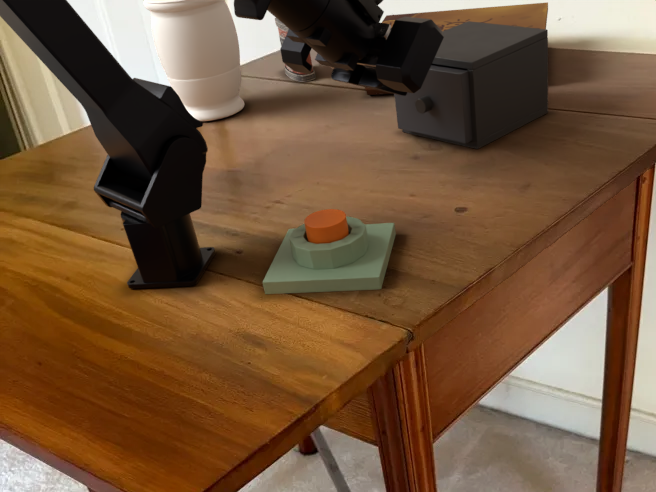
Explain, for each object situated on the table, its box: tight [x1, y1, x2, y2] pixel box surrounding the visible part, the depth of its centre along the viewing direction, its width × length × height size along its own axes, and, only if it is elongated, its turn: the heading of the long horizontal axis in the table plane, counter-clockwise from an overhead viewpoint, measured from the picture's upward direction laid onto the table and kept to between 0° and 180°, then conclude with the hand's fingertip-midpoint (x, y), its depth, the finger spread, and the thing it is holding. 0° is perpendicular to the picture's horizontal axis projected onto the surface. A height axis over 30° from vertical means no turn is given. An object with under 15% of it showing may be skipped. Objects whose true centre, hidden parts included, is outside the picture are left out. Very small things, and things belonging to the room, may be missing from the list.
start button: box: [303, 208, 349, 244], centre depth 70 cm, size 4×4×2 cm
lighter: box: [274, 17, 317, 83], centre depth 118 cm, size 8×3×10 cm, turn 25°
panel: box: [262, 215, 397, 295], centre depth 72 cm, size 10×10×3 cm
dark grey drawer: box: [393, 64, 473, 144], centre depth 92 cm, size 13×10×7 cm
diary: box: [364, 2, 549, 96], centre depth 111 cm, size 23×19×6 cm
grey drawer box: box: [401, 21, 549, 150], centre depth 93 cm, size 13×12×9 cm
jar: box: [142, 0, 246, 122], centre depth 107 cm, size 11×10×15 cm
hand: (405, 91), depth 87 cm, fingers closed
